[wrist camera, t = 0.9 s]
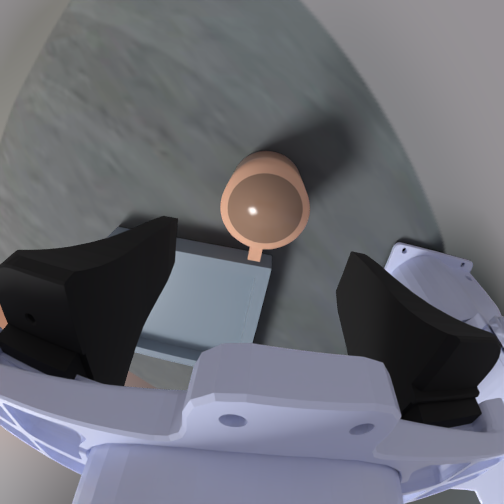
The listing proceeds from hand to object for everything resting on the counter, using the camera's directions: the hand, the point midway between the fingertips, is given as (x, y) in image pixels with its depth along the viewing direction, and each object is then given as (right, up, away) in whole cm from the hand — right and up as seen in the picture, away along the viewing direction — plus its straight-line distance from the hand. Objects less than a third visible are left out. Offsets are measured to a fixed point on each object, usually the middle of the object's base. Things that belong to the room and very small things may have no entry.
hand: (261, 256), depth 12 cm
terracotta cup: (+1, +5, +9) cm, 10 cm away
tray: (-6, -4, +15) cm, 17 cm away
